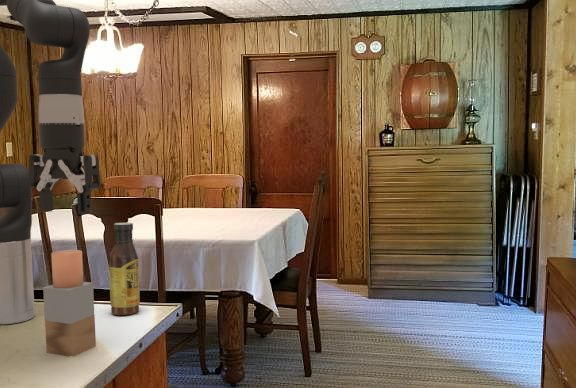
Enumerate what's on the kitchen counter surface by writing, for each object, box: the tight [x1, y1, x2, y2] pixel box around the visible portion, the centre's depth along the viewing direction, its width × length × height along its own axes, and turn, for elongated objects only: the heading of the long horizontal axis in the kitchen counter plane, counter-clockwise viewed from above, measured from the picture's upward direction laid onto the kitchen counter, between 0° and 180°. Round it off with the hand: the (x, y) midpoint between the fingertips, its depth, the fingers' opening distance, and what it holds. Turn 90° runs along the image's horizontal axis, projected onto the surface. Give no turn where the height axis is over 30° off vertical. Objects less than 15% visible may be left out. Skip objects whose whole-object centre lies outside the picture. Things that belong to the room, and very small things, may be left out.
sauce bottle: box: [109, 222, 141, 316], centre depth 132 cm, size 6×6×20 cm
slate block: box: [42, 281, 95, 324], centre depth 109 cm, size 6×6×6 cm
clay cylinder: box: [50, 249, 84, 288], centre depth 109 cm, size 5×5×6 cm
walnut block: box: [44, 314, 97, 357], centre depth 110 cm, size 6×6×6 cm
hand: (65, 212), depth 108 cm, fingers open, 8 cm apart
